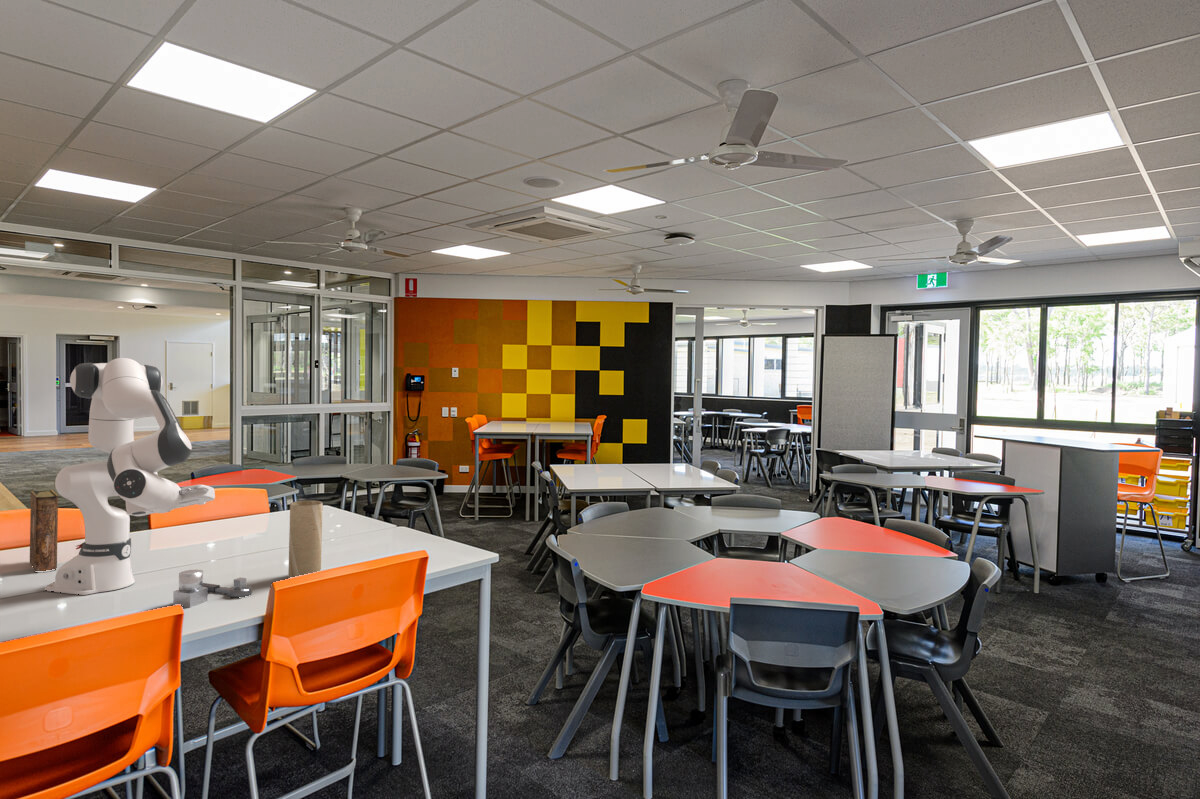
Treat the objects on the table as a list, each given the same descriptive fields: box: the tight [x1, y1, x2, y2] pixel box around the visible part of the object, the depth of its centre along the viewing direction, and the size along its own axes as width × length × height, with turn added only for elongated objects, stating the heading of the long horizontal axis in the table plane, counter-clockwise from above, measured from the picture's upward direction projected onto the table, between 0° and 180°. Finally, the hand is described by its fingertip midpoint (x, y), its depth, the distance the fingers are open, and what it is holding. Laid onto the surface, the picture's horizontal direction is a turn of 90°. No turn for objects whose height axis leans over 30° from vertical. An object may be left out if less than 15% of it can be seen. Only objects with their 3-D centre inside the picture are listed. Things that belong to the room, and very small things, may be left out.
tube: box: [287, 499, 324, 579], centre depth 215 cm, size 10×10×25 cm
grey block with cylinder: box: [172, 569, 209, 608], centre depth 187 cm, size 6×6×9 cm
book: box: [29, 489, 59, 572], centre depth 216 cm, size 16×6×25 cm, turn 47°
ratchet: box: [203, 576, 253, 599], centre depth 197 cm, size 19×6×5 cm, turn 76°
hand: (185, 505), depth 185 cm, fingers open, 8 cm apart
